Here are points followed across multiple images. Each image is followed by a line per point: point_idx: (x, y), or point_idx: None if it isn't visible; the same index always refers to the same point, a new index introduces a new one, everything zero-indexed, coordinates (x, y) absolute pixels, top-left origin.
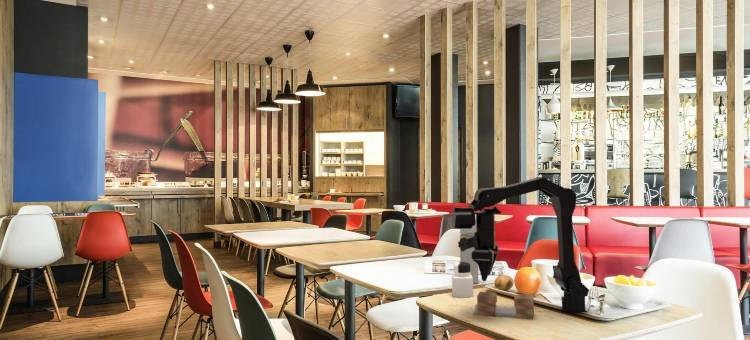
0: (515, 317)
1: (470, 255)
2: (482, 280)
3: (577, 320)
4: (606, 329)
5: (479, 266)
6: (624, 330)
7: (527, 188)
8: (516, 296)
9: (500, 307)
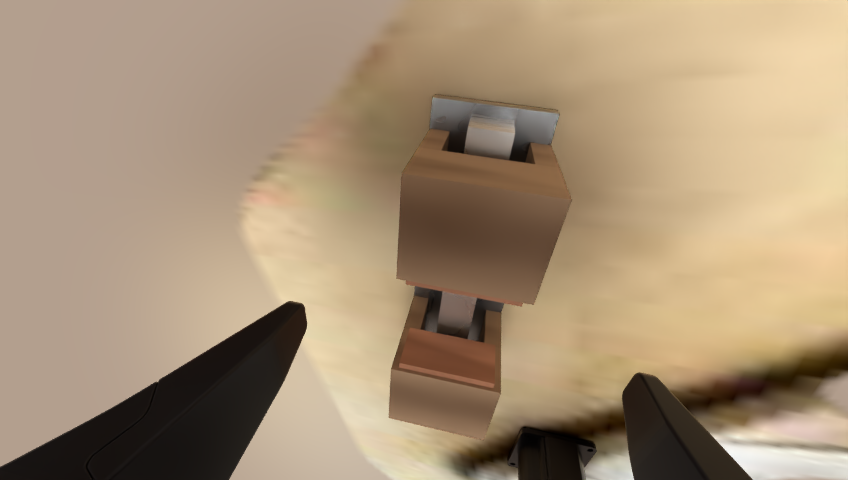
0: (425, 296)
1: None
2: (288, 303)
3: None
4: (389, 451)
5: (51, 450)
6: (391, 471)
7: None
8: (436, 380)
9: None
